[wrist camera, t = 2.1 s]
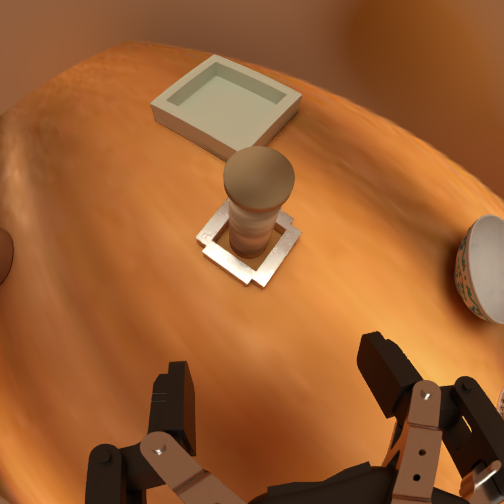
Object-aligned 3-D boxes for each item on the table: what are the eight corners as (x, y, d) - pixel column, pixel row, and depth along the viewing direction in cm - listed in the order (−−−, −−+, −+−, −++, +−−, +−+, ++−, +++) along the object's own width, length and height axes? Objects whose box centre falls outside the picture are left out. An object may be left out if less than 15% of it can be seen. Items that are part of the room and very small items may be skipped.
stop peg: (218, 244, 34) (208, 180, 20) (243, 212, 35) (250, 135, 21) (253, 269, 34) (269, 220, 19) (278, 236, 35) (307, 169, 20)
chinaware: (494, 246, 37) (524, 232, 30) (491, 333, 33) (525, 329, 26) (435, 220, 37) (466, 199, 30) (428, 320, 33) (466, 315, 26)
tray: (155, 121, 39) (149, 103, 35) (215, 71, 42) (214, 54, 38) (242, 172, 37) (243, 155, 33) (297, 112, 40) (302, 94, 37)
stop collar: (193, 248, 34) (190, 243, 32) (239, 191, 36) (240, 183, 34) (258, 295, 33) (259, 292, 31) (301, 232, 35) (305, 226, 33)
